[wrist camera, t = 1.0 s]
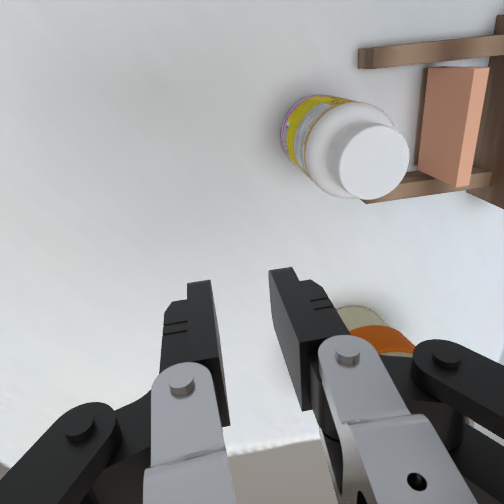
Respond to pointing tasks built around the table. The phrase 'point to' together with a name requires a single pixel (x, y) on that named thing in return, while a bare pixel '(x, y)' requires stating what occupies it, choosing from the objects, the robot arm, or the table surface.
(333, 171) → the supplement bottle
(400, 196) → the cradle
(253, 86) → the table surface
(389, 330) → the reusable coffee cup
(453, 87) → the plate
